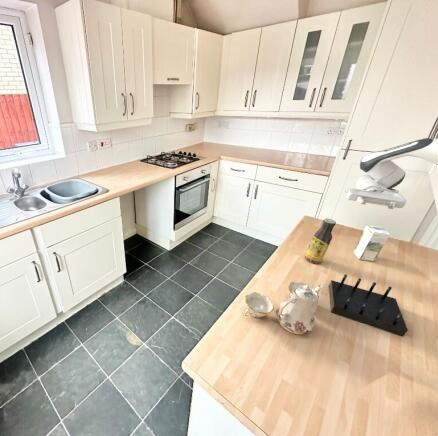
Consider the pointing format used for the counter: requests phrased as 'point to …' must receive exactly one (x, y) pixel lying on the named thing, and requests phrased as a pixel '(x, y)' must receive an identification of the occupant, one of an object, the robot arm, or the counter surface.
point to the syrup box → (371, 243)
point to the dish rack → (367, 306)
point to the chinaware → (288, 308)
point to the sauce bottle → (320, 242)
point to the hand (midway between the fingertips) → (377, 205)
